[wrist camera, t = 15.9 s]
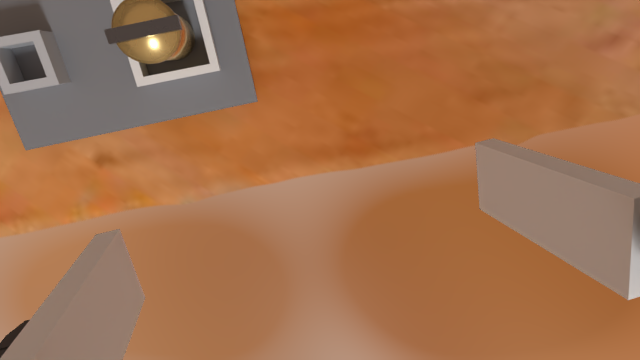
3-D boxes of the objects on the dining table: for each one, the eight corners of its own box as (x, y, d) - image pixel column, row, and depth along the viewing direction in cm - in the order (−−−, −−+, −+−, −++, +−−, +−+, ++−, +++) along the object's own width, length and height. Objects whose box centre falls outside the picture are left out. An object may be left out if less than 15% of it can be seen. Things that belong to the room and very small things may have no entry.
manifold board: (220, -57, 42) (219, -71, 38) (256, 99, 47) (259, 104, 43) (-33, -17, 39) (-70, -27, 34) (34, 146, 44) (10, 156, 39)
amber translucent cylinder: (190, 7, 42) (168, -14, 29) (204, 56, 43) (188, 55, 31) (138, 17, 41) (93, 1, 29) (154, 67, 42) (118, 70, 30)
